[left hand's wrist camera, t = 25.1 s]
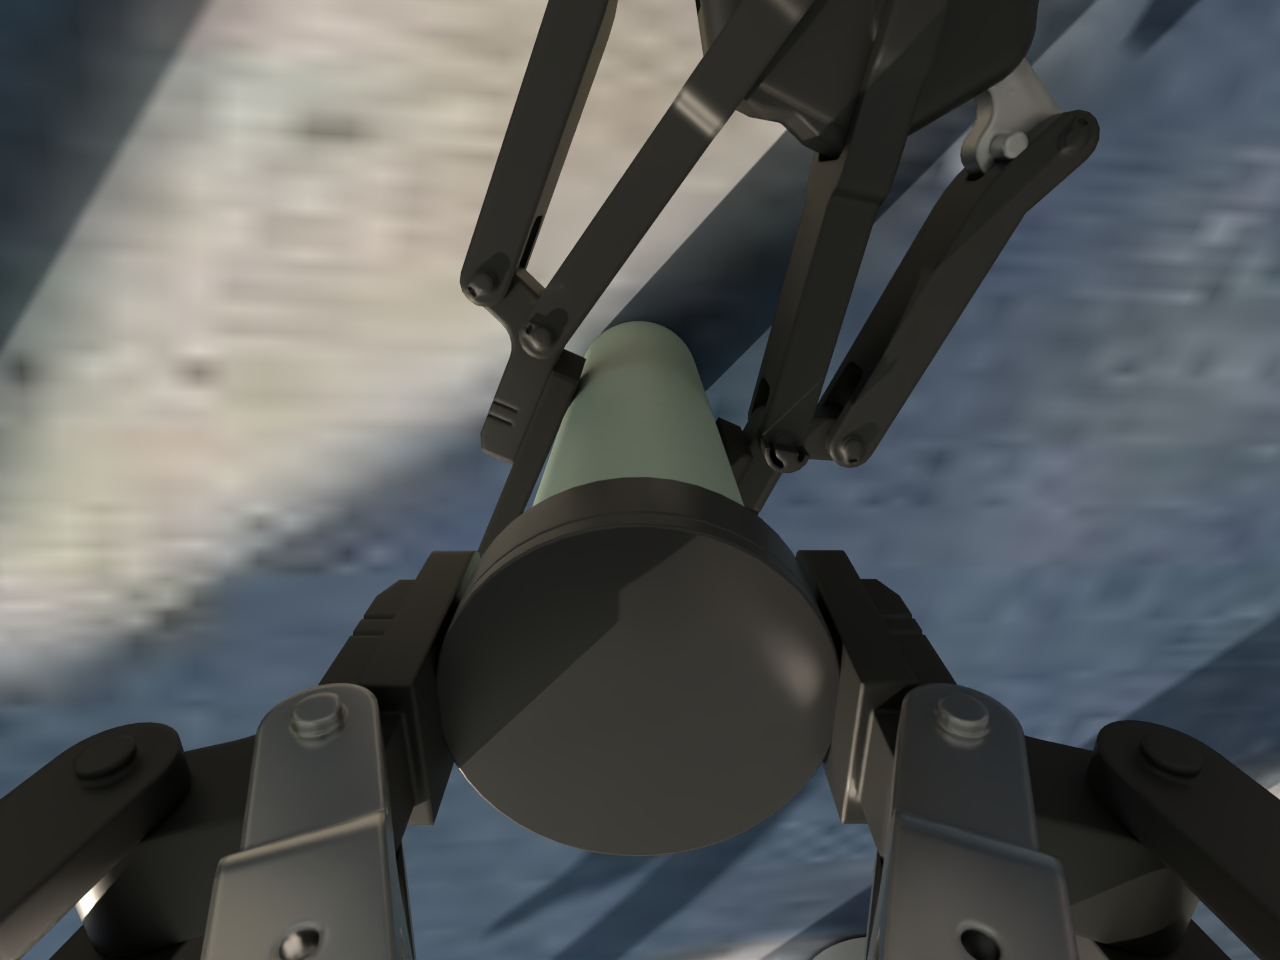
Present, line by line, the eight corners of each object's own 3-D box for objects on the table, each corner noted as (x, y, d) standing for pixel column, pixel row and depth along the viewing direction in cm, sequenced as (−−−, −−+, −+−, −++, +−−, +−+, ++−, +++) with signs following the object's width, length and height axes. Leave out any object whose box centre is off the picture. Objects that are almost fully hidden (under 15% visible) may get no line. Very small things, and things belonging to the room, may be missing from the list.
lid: (816, 460, 10) (848, 508, 8) (813, 763, 12) (838, 845, 10) (431, 490, 10) (394, 542, 8) (492, 784, 12) (471, 868, 10)
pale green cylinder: (556, 366, 26) (422, 640, 10) (651, 295, 25) (674, 470, 9) (626, 456, 27) (608, 826, 11) (719, 391, 26) (846, 695, 10)
